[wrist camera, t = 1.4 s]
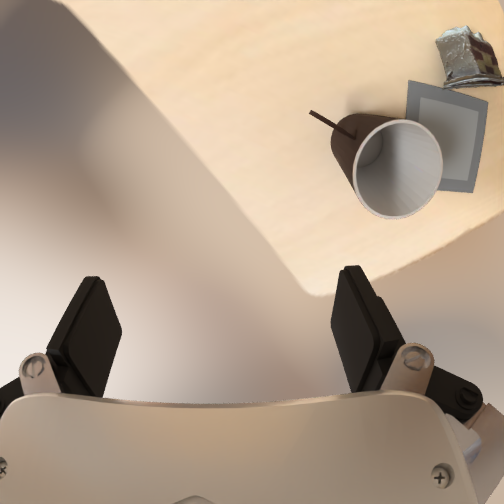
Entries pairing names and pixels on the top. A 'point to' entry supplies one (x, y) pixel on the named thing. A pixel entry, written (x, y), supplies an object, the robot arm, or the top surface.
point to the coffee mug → (387, 162)
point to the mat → (451, 130)
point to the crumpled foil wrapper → (468, 60)
